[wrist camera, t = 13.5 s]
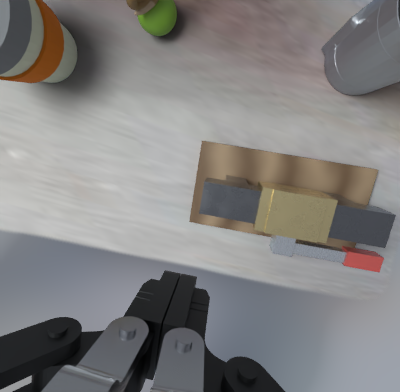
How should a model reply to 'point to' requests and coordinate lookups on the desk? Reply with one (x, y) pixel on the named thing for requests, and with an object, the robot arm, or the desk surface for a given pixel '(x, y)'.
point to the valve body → (295, 211)
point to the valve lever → (327, 253)
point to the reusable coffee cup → (34, 43)
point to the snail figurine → (155, 15)
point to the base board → (278, 179)
